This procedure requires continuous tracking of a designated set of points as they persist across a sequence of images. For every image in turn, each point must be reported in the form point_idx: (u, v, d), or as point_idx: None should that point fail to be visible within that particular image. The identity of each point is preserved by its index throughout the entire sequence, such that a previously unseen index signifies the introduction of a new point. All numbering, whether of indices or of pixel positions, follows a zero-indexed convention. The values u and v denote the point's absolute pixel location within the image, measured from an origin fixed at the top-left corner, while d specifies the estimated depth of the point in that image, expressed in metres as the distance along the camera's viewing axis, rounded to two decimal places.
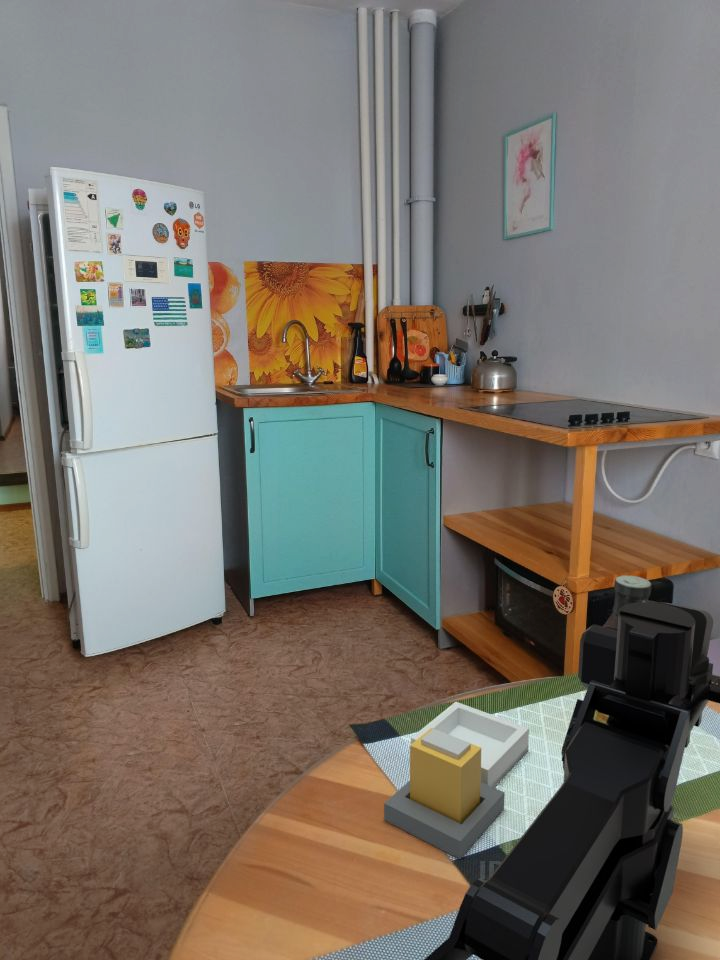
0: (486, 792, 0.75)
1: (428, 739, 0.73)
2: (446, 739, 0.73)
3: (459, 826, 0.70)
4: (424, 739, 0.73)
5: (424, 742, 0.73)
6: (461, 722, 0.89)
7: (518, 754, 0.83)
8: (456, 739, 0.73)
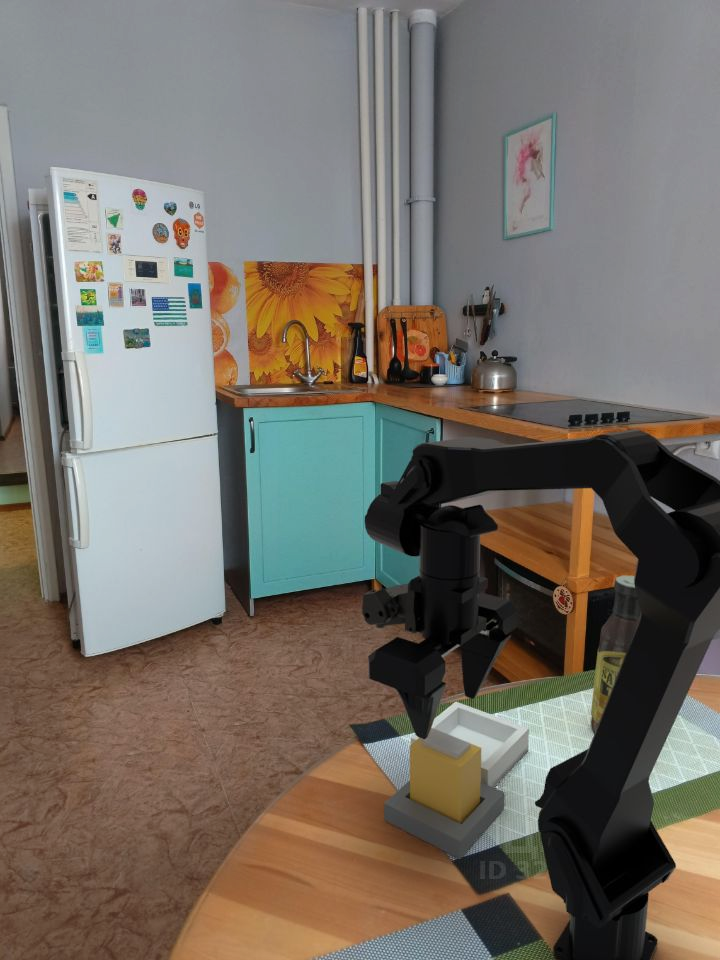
0: (486, 792, 0.75)
1: (427, 739, 0.73)
2: (446, 739, 0.73)
3: (459, 826, 0.70)
4: (424, 739, 0.73)
5: (424, 742, 0.73)
6: (461, 722, 0.89)
7: (518, 754, 0.83)
8: (456, 739, 0.73)
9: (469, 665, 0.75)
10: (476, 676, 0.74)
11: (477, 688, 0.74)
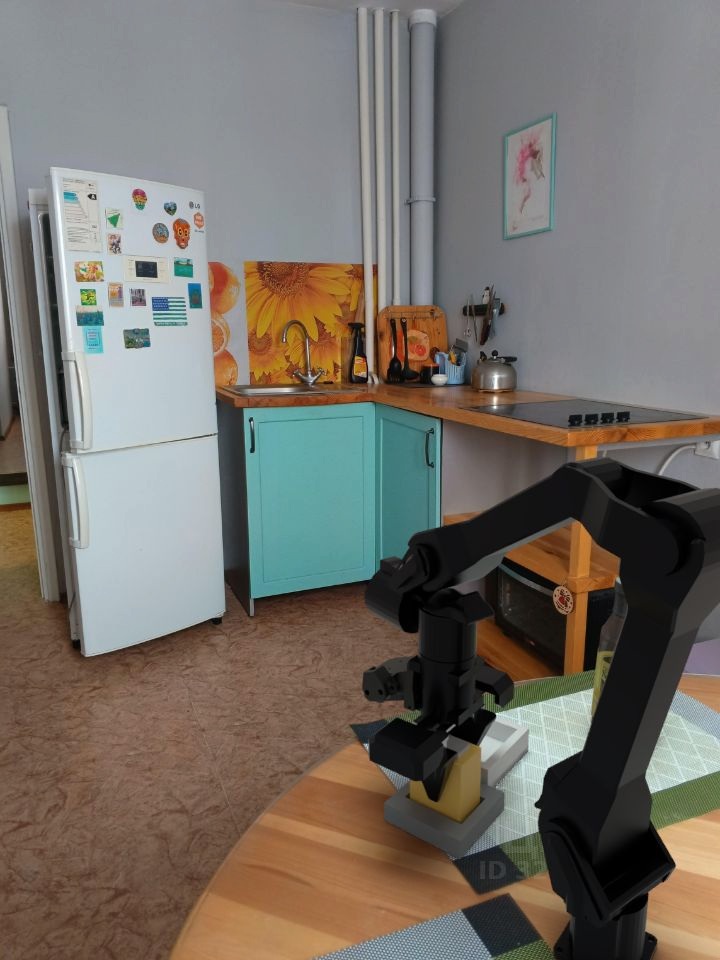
0: (486, 792, 0.75)
1: None
2: None
3: (459, 826, 0.70)
4: None
5: None
6: None
7: (518, 754, 0.83)
8: (456, 739, 0.73)
9: None
10: None
11: None
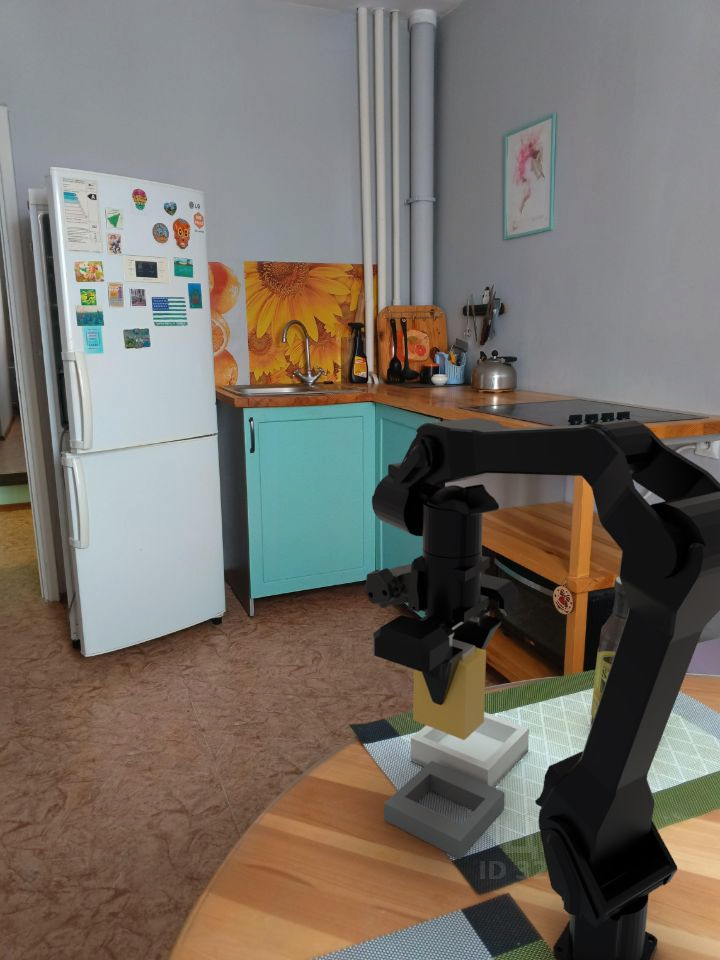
0: (486, 792, 0.75)
1: None
2: None
3: (459, 826, 0.70)
4: None
5: None
6: None
7: (518, 754, 0.83)
8: (460, 642, 0.72)
9: None
10: None
11: None
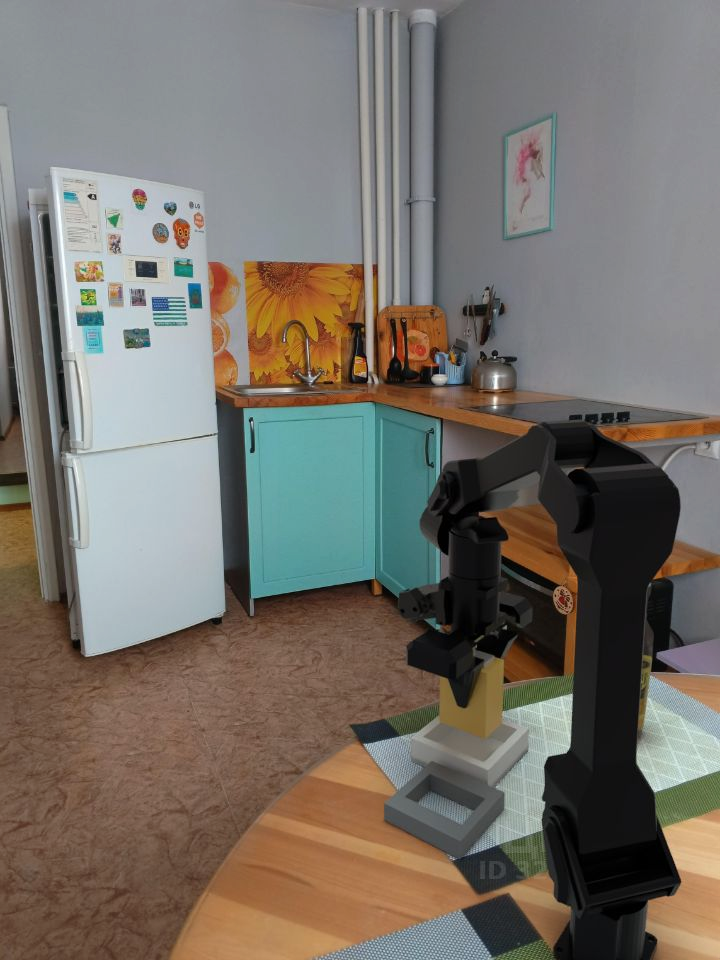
0: (486, 792, 0.75)
1: None
2: None
3: (459, 826, 0.70)
4: None
5: None
6: None
7: (518, 754, 0.83)
8: (481, 652, 0.82)
9: None
10: None
11: None
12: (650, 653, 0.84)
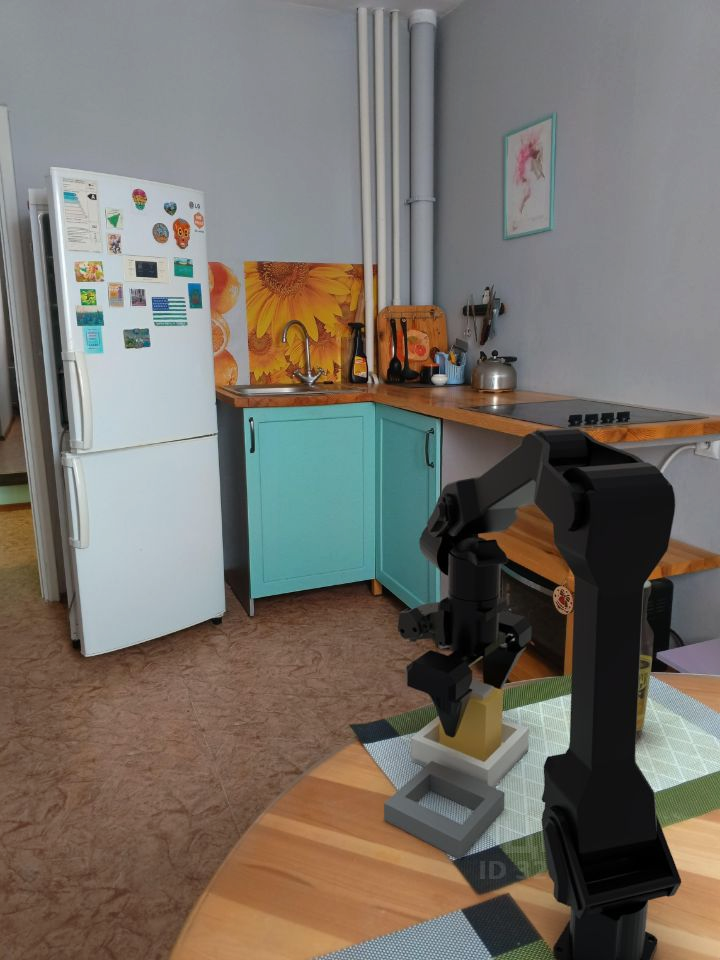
0: (486, 792, 0.75)
1: None
2: (471, 683, 0.82)
3: (459, 826, 0.70)
4: None
5: None
6: None
7: (518, 754, 0.83)
8: (480, 683, 0.82)
9: (489, 673, 0.86)
10: (495, 683, 0.85)
11: None
12: (650, 653, 0.84)
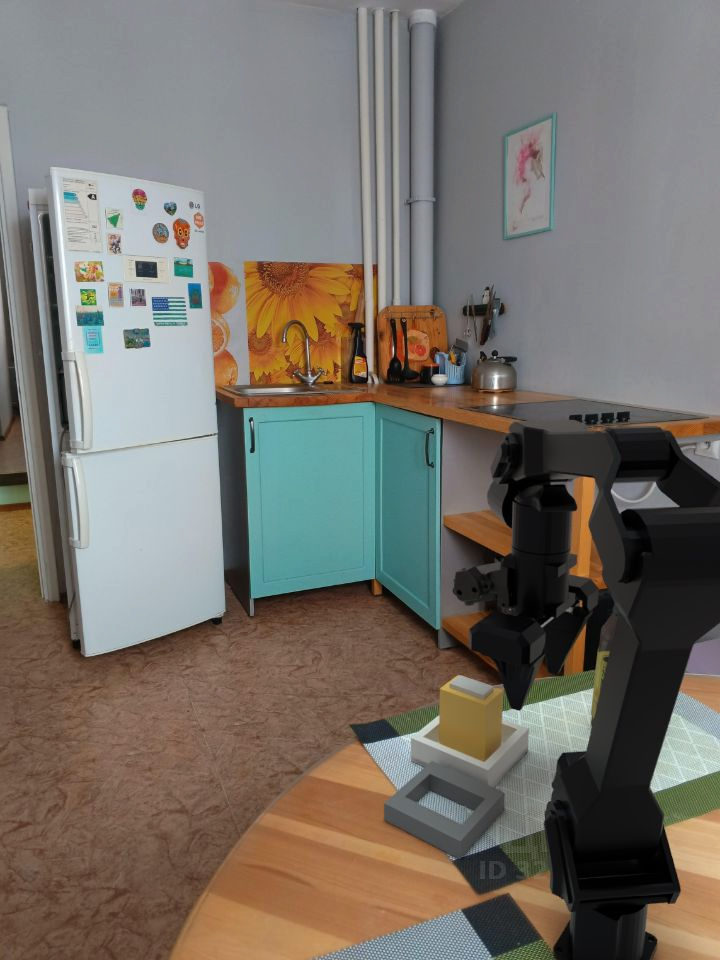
0: (486, 792, 0.75)
1: (455, 683, 0.82)
2: (471, 683, 0.82)
3: (459, 826, 0.70)
4: (452, 683, 0.82)
5: (452, 686, 0.82)
6: None
7: (518, 754, 0.83)
8: (480, 683, 0.82)
9: (552, 642, 0.77)
10: (560, 652, 0.77)
11: (561, 664, 0.77)
12: None
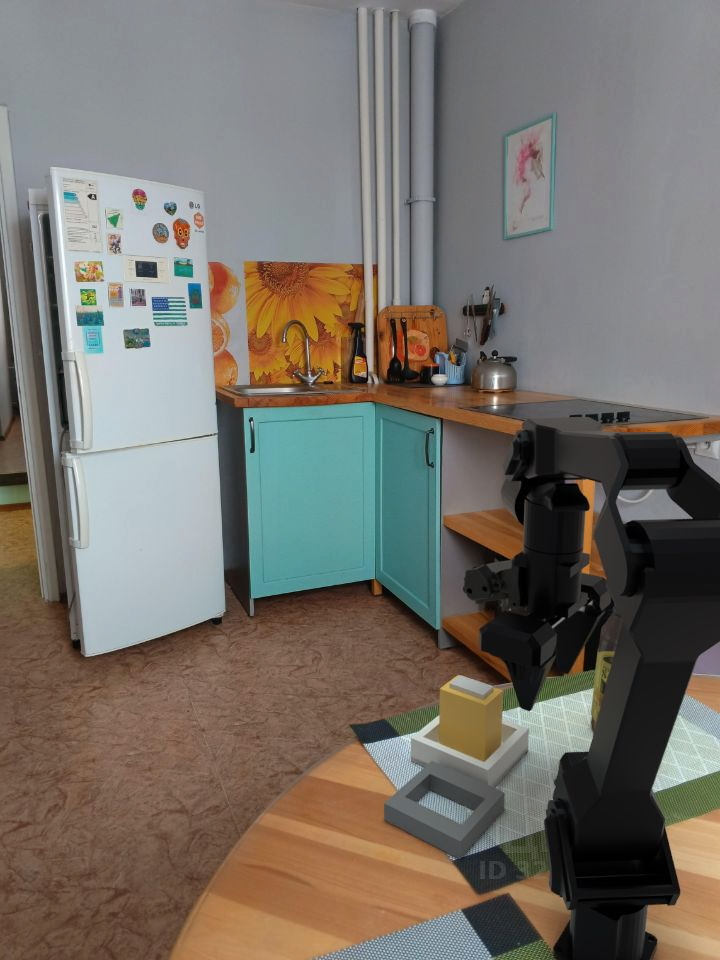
0: (486, 792, 0.75)
1: (455, 683, 0.82)
2: (471, 683, 0.82)
3: (459, 826, 0.70)
4: (452, 683, 0.82)
5: (452, 686, 0.82)
6: None
7: (518, 754, 0.83)
8: (480, 683, 0.82)
9: (563, 641, 0.76)
10: (571, 651, 0.76)
11: (572, 663, 0.76)
12: None
